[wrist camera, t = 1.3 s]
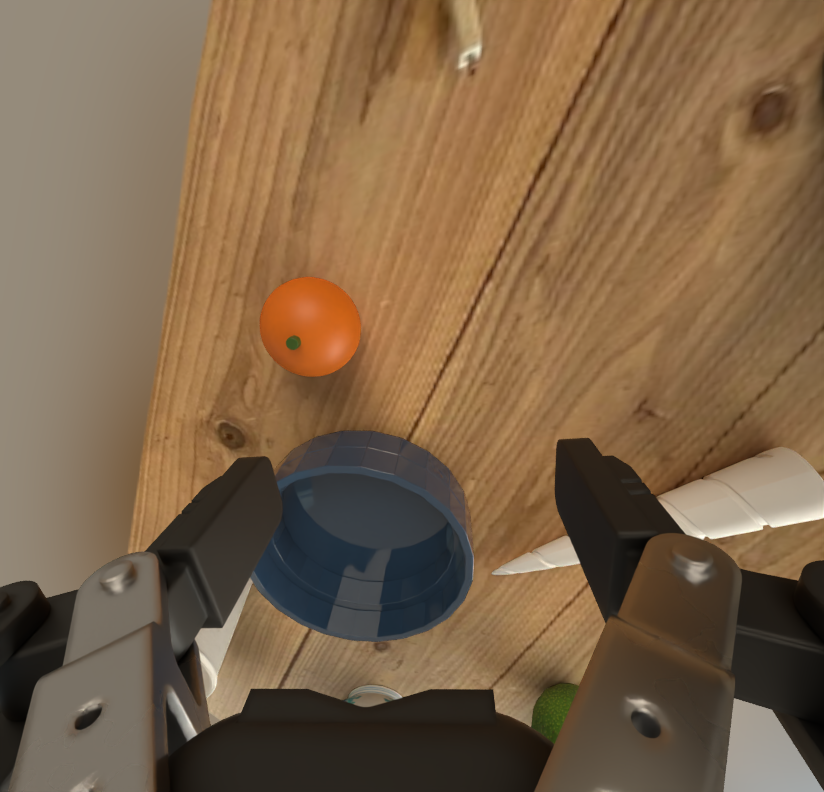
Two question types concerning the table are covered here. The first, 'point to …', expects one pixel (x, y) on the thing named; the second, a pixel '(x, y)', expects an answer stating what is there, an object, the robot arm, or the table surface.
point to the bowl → (367, 538)
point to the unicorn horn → (719, 505)
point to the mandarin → (310, 326)
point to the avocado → (553, 709)
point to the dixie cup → (218, 643)
